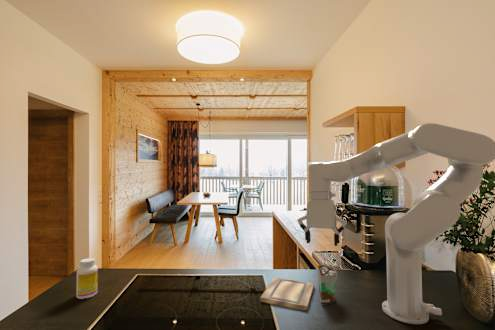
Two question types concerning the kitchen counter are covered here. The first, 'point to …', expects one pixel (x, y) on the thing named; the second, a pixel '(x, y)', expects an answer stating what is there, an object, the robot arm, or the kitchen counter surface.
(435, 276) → the kitchen counter surface
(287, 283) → the base board
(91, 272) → the supplement bottle
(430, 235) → the robot arm
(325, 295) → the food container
